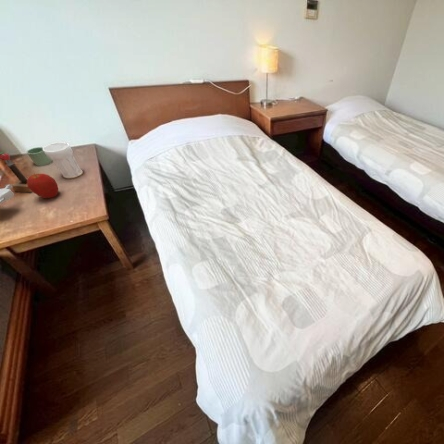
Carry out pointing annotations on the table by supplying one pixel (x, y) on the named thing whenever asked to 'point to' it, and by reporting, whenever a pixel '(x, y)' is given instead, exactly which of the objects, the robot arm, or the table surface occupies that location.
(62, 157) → the cup
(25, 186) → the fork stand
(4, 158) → the strawberry fork
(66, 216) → the table surface
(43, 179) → the red ovoid fruit
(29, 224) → the table surface
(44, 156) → the dessert cup
